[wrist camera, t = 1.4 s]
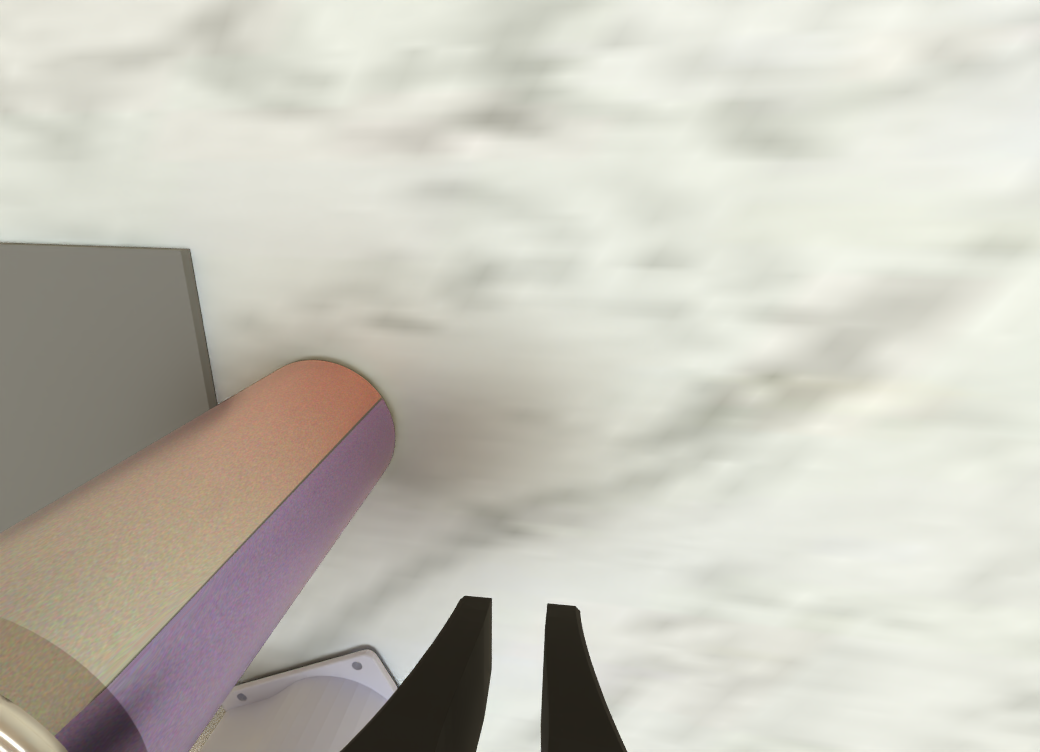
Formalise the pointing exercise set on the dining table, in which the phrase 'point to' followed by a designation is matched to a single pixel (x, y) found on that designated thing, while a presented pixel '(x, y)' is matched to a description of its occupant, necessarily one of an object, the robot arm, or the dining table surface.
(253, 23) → the dining table surface
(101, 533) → the beverage can
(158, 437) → the mat
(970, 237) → the dining table surface
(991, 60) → the dining table surface
